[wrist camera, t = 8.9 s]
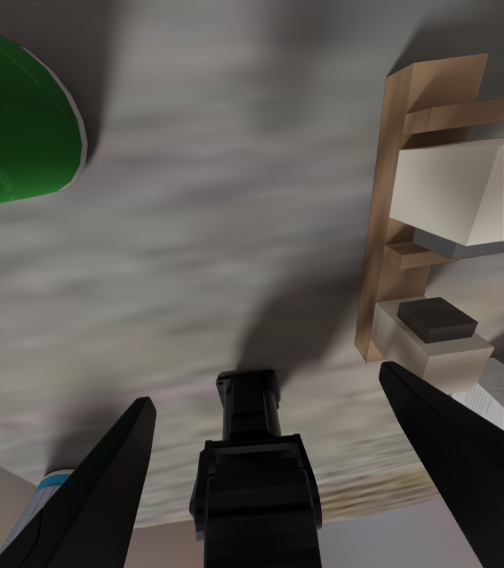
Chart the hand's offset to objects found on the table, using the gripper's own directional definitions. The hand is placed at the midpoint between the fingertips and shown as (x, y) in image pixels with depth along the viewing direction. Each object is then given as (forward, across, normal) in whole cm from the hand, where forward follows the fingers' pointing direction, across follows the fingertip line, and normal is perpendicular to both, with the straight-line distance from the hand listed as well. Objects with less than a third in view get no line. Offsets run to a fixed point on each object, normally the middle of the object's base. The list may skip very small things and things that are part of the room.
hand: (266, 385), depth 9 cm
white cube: (+10, -12, -5) cm, 16 cm away
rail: (+12, -12, 0) cm, 17 cm away
